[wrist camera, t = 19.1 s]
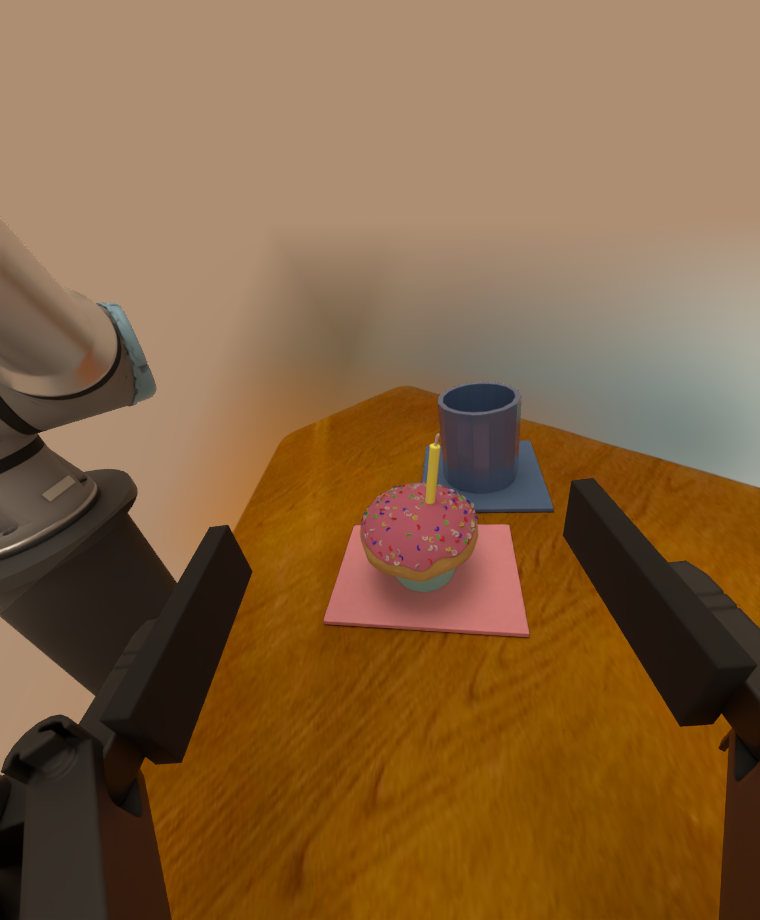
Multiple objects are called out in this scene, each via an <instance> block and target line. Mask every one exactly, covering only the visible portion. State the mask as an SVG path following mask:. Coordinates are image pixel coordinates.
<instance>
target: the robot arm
mask: <svg viewBox="0 0 760 920" xmlns="http://www.w3.org/2000/svg"><path fill="white" fill-rule="evenodd" d="M155 392H156V384H155V381H154V378H153V375H152V373H151V371H150V368H149V366H148V364H147V361H146V358H145V355H144V353H143V351H142V348H141V346H140V344H139V342H138V339H137V337H136V335H135V333H134V331H133V329H132V326H131V324H130V323H129V320H128V318H127V316H126V314H125V312H124V311H123V310H122V308H121V307H120V306H119V305H118V304H115V303H102V302H100V303H96V304H95V303H94V302H93V301H92V300H90V299H88V298H87V297H85V296H83V295H81V294H80V293H78V292H76V291H73V290H71V289H68V288H65V287H61V286H60V285H59V283H58V282H57V281H56V280H55V279H54V277H52V275H51V274H50V273H49V272H48V271H47V269H46V268H45V267H44V266H43V265H42V264H41V263H40V261H39V260H38V259H37V258H36V257H35V256H34V255H33V253H32V252H31V251H30V250H29V249H28V248H27V246H26V245H25V244H24V243H23V242H22V241H21V240H20V238H19V237H18V236H17V235H16V234H15V233H14V232H13V230H12V229H11V228H10V227H9V226H8V225H7V223H6V222H5V221H4V220H3V219H2V218H1V217H0V560H3V559H6V558H9V557H12V556H14V555H17V554H19V553H22V552H24V551H26V550H29V549H31V548H33V547H35V546H37V545H39V544H41V543H43V542H45V541H47V540H49V539H50V538H52V537H54V536H56V535H57V534H59V533H61V532H62V531H64V530H65V529H67V528H68V527H70V526H71V525H72V524H74V523H75V522H77V521H78V520H79V519H80V518H82V517H83V516H84V515H85V514H86V513H87V512H88V511H89V510H90V509H91V508H92V507H93V506H94V505H95V503H96V502H97V500H98V499H99V496H100V489H99V487H98V486H97V485H96V483H95V482H94V481H93V480H92V479H91V478H90V477H89V476H88V475H87V474H86V473H84V472H83V471H81V470H80V469H78V468H77V467H75V466H74V465H72V464H71V463H69V462H68V461H66V460H65V459H64V458H62V457H61V456H59V455H58V454H56V453H55V452H53V451H52V450H50V449H49V448H48V447H47V445H46V444H45V443H44V442H43V440H42V439H41V438H40V436H39V435H38V434H37V433H40V432H43V431H46V430H48V429H52V428H56V427H59V426H62V425H65V424H69V423H72V422H75V421H79V420H82V419H85V418H88V417H92V416H95V415H98V414H102V413H105V412H108V411H112V410H115V409H118V408H121V407H125V406H133V405H135V404H137V402H140V401H143V400H145V399H148V398H151V397H152V396H153V395H154V394H155ZM563 536H564V538H565V539H566V541H567V543H568V544H569V546H570V548H571V549H572V551H573V553H574V554H575V556H576V557H577V559H578V561H579V562H580V564H581V566H582V567H583V569H584V570H585V572H586V574H587V575H588V577H589V579H590V580H591V582H592V584H593V585H594V587H595V588H596V590H597V592H598V593H599V595H600V597H601V598H602V600H603V601H604V603H605V605H606V606H607V608H608V610H609V611H610V613H611V615H612V616H613V618H614V619H615V621H616V623H617V624H618V626H619V628H620V629H621V631H622V633H623V634H624V636H625V637H626V639H627V641H628V642H629V644H630V646H631V647H632V649H633V650H634V652H635V654H636V655H637V657H638V659H639V660H640V662H641V664H642V665H643V667H644V668H645V670H646V672H647V673H648V675H649V677H650V678H651V680H652V681H653V683H654V685H655V686H656V688H657V690H658V691H659V693H660V695H661V696H662V698H663V699H664V701H665V703H666V704H667V706H668V708H669V709H670V711H671V712H672V714H673V716H674V717H675V719H676V721H677V722H678V724H679V726H680V727H682V726H696V725H709V724H714V722H715V721H716V720H717V718H718V717H719V716H720V714H721V713H722V714H723V716H724V717H725V718H726V720H727V721H728V723H729V724H730V725H731V727H732V729H731V730H730V731H729V732H728V734H727V735H726V736H725V737H724V738H723V740H722V741H721V743H720V746H719V749H720V750H722V751H724V752H725V751H726V749H727V748H728V747H729V753H728V771H727V788H726V805H725V823H724V840H723V858H722V875H721V892H720V910H719V920H760V628H759V627H758V626H757V625H756V624H755V623H754V622H753V621H752V620H751V619H750V618H749V617H748V616H747V615H746V614H745V613H744V612H743V611H742V610H741V609H740V608H737V605H736V604H735V603H734V601H733V600H732V599H731V598H730V597H729V596H728V595H727V594H724V593H723V590H722V589H721V588H720V587H719V586H718V585H717V584H716V583H715V582H714V581H713V580H712V579H711V578H710V577H709V576H708V575H707V574H706V573H704V572H703V571H701V570H700V569H698V568H697V567H695V566H693V565H692V564H690V563H689V562H687V561H678V562H669V563H668V562H667V561H666V560H665V559H664V558H663V557H662V555H661V554H660V553H659V552H658V551H657V550H656V549H655V548H654V546H653V545H652V544H651V543H650V542H649V541H648V540H647V538H646V537H645V536H644V535H643V534H642V533H641V532H640V530H639V529H638V528H637V527H636V526H635V525H634V524H633V523H632V521H631V520H630V519H629V518H628V517H627V516H626V515H625V513H624V512H623V511H622V510H621V509H620V508H619V507H618V505H617V504H616V503H615V502H614V501H613V500H612V499H611V498H610V496H609V495H608V494H607V493H606V492H605V491H604V490H603V488H602V487H601V486H600V485H599V484H598V483H597V482H596V480H595V479H594V478H589V479H582V480H574V481H571V487H570V494H569V500H568V507H567V513H566V519H565V526H564V532H563ZM251 574H252V570H251V568H250V566H249V564H248V562H247V560H246V558H245V556H244V554H243V553H242V551H241V549H240V547H239V545H238V543H237V541H236V539H235V537H234V535H233V533H232V532H231V530H230V528H229V526H228V525H223V526H215V527H209V529H208V531H207V533H206V534H205V536H204V538H203V540H202V541H201V543H200V545H199V547H198V548H197V550H196V552H195V554H194V555H193V557H192V559H191V561H190V562H189V564H188V566H187V568H186V569H185V571H184V573H183V575H182V576H181V578H180V580H179V582H178V583H177V585H176V587H175V589H174V590H173V592H172V594H171V596H170V597H169V599H168V601H167V603H166V604H165V606H164V608H163V610H162V611H161V613H160V615H159V617H158V618H157V619H149V620H147V621H146V622H145V623H144V624H143V625H142V626H141V627H140V628H139V629H138V630H137V631H136V632H135V634H134V635H133V636H132V638H131V639H130V641H129V642H128V644H127V646H126V647H125V649H124V651H123V655H121V656H120V657H119V659H118V661H117V662H116V664H115V665H114V669H113V670H111V672H110V674H109V675H108V677H107V679H106V680H105V682H104V683H103V685H102V687H101V688H100V690H99V692H98V693H97V695H96V697H95V698H94V700H93V702H92V703H91V705H90V706H89V708H88V710H87V711H86V713H85V715H84V716H83V718H82V720H81V721H80V723H79V724H76V723H75V722H74V721H72V720H71V719H70V718H68V717H66V716H63V715H56V716H51V717H49V718H47V719H45V720H43V721H41V722H39V723H38V724H36V725H35V726H34V727H32V728H31V729H30V730H29V731H28V732H26V733H25V734H24V735H23V736H22V737H21V738H20V739H19V741H18V742H17V743H16V744H15V745H14V746H13V748H12V749H11V751H10V752H9V754H8V755H7V757H6V759H5V761H4V764H3V767H2V770H1V772H2V773H4V774H5V775H3V776H2V775H0V920H172V919H171V914H170V909H169V903H168V898H167V893H166V888H165V883H164V877H163V872H162V867H161V862H160V857H159V852H158V846H157V841H156V836H155V831H154V826H153V821H152V815H151V810H150V805H149V800H148V795H147V790H146V784H145V779H144V775H143V774H142V772H141V770H140V767H141V765H142V762H143V760H144V758H145V757H147V758H148V759H149V760H151V761H152V762H153V763H154V764H156V765H157V764H171V763H182V760H183V758H184V755H185V752H186V749H187V747H188V744H189V741H190V739H191V736H192V733H193V731H194V728H195V725H196V723H197V720H198V717H199V714H200V712H201V709H202V706H203V704H204V701H205V698H206V696H207V693H208V690H209V687H210V685H211V682H212V679H213V677H214V674H215V671H216V669H217V666H218V663H219V660H220V658H221V655H222V652H223V650H224V647H225V644H226V642H227V639H228V636H229V633H230V631H231V628H232V625H233V623H234V620H235V617H236V615H237V612H238V609H239V606H240V604H241V601H242V598H243V596H244V593H245V590H246V588H247V585H248V582H249V580H250V577H251Z"/></svg>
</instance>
